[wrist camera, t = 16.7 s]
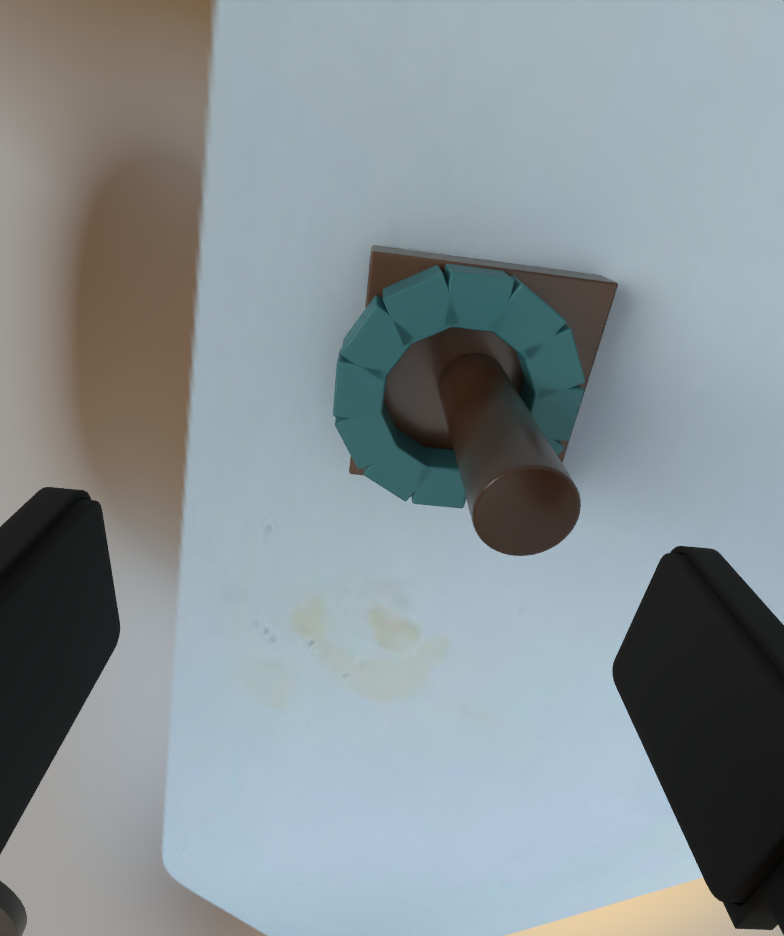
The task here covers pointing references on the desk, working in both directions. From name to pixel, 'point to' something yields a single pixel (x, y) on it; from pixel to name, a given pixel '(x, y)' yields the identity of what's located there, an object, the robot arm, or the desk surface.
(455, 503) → the teal segmented ring
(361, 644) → the desk surface
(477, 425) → the stand
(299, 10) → the desk surface
